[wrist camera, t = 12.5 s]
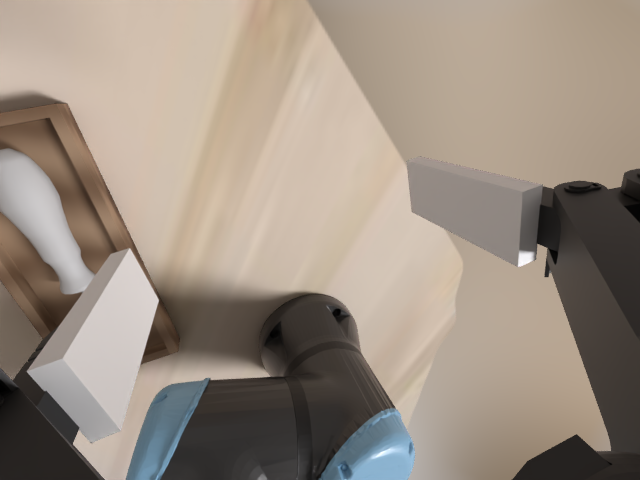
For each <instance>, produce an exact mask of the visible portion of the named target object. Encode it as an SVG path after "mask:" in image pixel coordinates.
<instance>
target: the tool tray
mask: <svg viewBox="0 0 640 480" xmlns="http://www.w3.org/2000/svg"><path fill="white" fill-rule="evenodd" d="M6 148H10V149H13V150H16V151H19V152H22V153H24V154H26V155H27V156H29V157H30V158H31V159H32V160H33V161H34V162H35V163H36V164H37V165H38V166H39V167H40V168H41V169H42V170H43V171H44V172H45V173H46V175H47V176H48V177H49V178H50V180H51V182H52V183H53V185H54V187H55V189H56V190H57V192H58V194H59V196H60V200H61V204H62V208H63V211H64V214H65V217H66V220H67V223H68V226H69V229H70V231H71V233H72V235H73V237H74V239H75V241H76V242H77V244H78V246H79V248H80V250H81V258H82V260H83V262H84V264H85V265H86V267H87V268H88V269H89V270H91V271H92V272H94V273H95V274H97V272H98V271H99V270H100V268H101V267H102V265H103V264H104V263H105V261H106V260H107V258H108V257H109V256H110V254H112V253H115V252H119V251H122V250H125V249H128V248H130V249H131V251H132V253H133V254H134V256H135V258H136V260H137V262H138V263H139V265H140V267H141V269H142V270H143V272H144V274H145V276H146V278H147V279H148V281H149V283H150V285H151V287H152V288H153V290H154V292H155V294H156V296H157V297H158V299H159V302H158V305H157V309H156V312H155V315H154V319H153V322H152V326H151V329H150V333H149V336H148V340H147V343H146V346H145V350H144V353H143V357H142V360H141V364H143V363H146V362H149V361H152V360H155V359H158V358H161V357H164V356H167V355H170V354H172V353H175V352H178V349H179V342H180V338H179V336H178V334H177V332H176V330H175V328H174V326H173V324H172V322H171V320H170V317H169V315H168V313H167V311H166V309H165V307H164V305H163V303H162V301H161V299H160V297H159V294H158V292H157V290H156V288H155V286H154V284H153V282H152V280H151V278H150V276H149V274H148V271H147V269H146V267H145V265H144V263H143V261H142V259H141V257H140V255H139V253H138V251H137V248H136V246H135V244H134V242H133V240H132V238H131V236H130V234H129V232H128V230H127V228H126V225H125V223H124V221H123V219H122V217H121V215H120V213H119V211H118V209H117V207H116V205H115V202H114V200H113V198H112V196H111V194H110V192H109V190H108V188H107V186H106V184H105V182H104V179H103V177H102V175H101V173H100V171H99V169H98V167H97V165H96V163H95V161H94V159H93V156H92V154H91V152H90V150H89V148H88V146H87V144H86V142H85V140H84V138H83V136H82V133H81V131H80V129H79V127H78V125H77V123H76V121H75V119H74V117H73V115H72V113H71V110H70V108H69V106H68V104H57V103H55V104H50V105H44V106H38V107H32V108H27V109H21V110H15V111H10V112H4V113H0V150H1V149H6ZM0 280H1V281H2V283H3V284H4V285H5V287H6V288H7V290H8V291H9V292H10V294H11V295H12V297H13V298H14V299H15V301H16V302H17V304H18V305H19V306H20V308H21V309H22V310H23V312H24V313H25V315H26V316H27V317H28V319H29V320H30V322H31V323H32V324H33V326H34V327H35V329H36V330H37V331H38V333H39V334H40V335H41V337H42V338H43V339H44V338H45V337H46V336H47V335H48V334H50V333H51V332H52V331H53V330H54V329H55V328H56V327H58V326H59V325H60V324H61V323H62V321H63V320H64V319H65V317H66V316H67V314H68V313H69V312H70V310H71V309H72V307H73V306H74V305H75V303H76V302H77V300H78V299H79V298H80V296H81V295H82V292H79V293H75V294H64V293H62V292H61V290H60V281H59V277H58V275H57V274H56V272H55V271H54V269H53V268H52V267H51V266H50V265H49V264H47V263H46V262H44V261H43V259H42V258H41V256H40V255H39V253H38V252H37V250H36V249H35V247H34V246H33V245H32V243H31V242H30V241H29V240H28V239H27V237H26V236H25V235H24V234H23V233H22V232H21V231H20V230H19V229H18V228H17V227H16V226H15V225H14V224H13V223H12V222H11V221H10V220H9V219H8V218H7V217H6V216H5V215H4V214H2V213H1V212H0Z"/></svg>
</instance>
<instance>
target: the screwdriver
mask: <svg viewBox="0 0 640 480" xmlns="http://www.w3.org/2000/svg"><path fill="white" fill-rule="evenodd" d="M0 212H1V213H2V214H4V215H5V216H6V217H7V218H8V219H9V220H10V221H11V222H12V223H13V224H14V225H15V226H16V227H17V228H18V229H19V230H20V231H21V232H22V233H23V234H24V235H25V236H26V237H27V239H28V240H29V241H30V242H31V243H32V245H33V246H34V247H35V249H36V250H37V252H38V253H39V255H40V256H41V258H42V259H43V261H44V262H46V263H47V264H49V265H50V266H51V267H52V268H53V269H54V271H55V272H56V274H57V275H58V277H59V281H60V290H61V292H62V293H64V294H75V293H79V292H82V293H83V292H84V291H85V289H86V288H87V286H88V285H89V284H90V282H91V281H92V279H93V278H94V277H95V275H96V274H95V273H94V272H92V271H91V270H89V269H88V268H87V267H86V265H85V264H84V262H83V260H82V258H81V250H80V248H79V246H78V244H77V242H76V241H75V239H74V237H73V235H72V233H71V231H70V229H69V226H68V223H67V220H66V217H65V214H64V211H63V208H62V204H61V200H60V196H59V194H58V192H57V190H56V189H55V187H54V185H53V183H52V182H51V180H50V178H49V177H48V176H47V175H46V173H45V172H44V171H43V170H42V169H41V168H40V167H39V166H38V165H37V164H36V163H35V162H34V161H33V160H32V159H31V158H30V157H29V156H27V155H26V154H24V153H22V152H19V151H16V150H13V149H10V148H6V149H1V150H0Z"/></svg>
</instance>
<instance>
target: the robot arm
mask: <svg viewBox="0 0 640 480" xmlns="http://www.w3.org/2000/svg"><path fill="white" fill-rule="evenodd" d="M407 170H408V180H409V190H410V199H411V209H412V212H413V213H415V214H417V215H419V216H421V217H423V218H425V219H427V220H428V221H430V222H432V223H434V224H436V225H438V226H440V227H442V228H444V229H446V230H448V231H450V232H451V233H453V234H455V235H457V236H459V237H461V238H463V239H465V240H467V241H469V242H471V243H472V244H474V245H476V246H478V247H480V248H482V249H484V250H486V251H488V252H490V253H492V254H494V255H495V256H497V257H500V258H501V259H503V260H505V261H507V262H509V263H511V264H513V265H515V266H517V267H520V266H522V265H525V264H527V263H529V262H532V261H534V260H536V254H537V244H540V245H542V246H544V247H547V248H548V249H547V258H546V267H545V277H548V276H549V273H552V275H553V278H554V281H555V284H556V287H557V290H558V293H559V295H560V298H561V301H562V304H563V307H564V310H565V313H566V316H567V318H568V321H569V324H570V327H571V330H572V332H573V335H574V338H575V341H576V344H577V347H578V350H579V352H580V355H581V358H582V361H583V364H584V367H585V369H586V372H587V375H588V378H589V381H590V384H591V387H592V390H593V392H594V395H595V398H596V401H597V404H598V406H599V409H600V412H601V415H602V418H603V421H604V424H605V426H606V429H607V432H608V436H609V439H610V444H611V451H597V452H596V451H594V450H593V449H592V448H591V447H590V446H589V445H588V444H587V443H586V442H585V441H583V440H582V439H581V438H580V437H579V436H578V435H574V436H573V437H571V438H569V439H567V440H566V441H563V442H562V443H560V444H558V445H556V446H554V447H552V448H551V449H549V450H547V451H545V452H543V453H542V454H540V455H538V456H536V457H534V458H532V459H531V460H529V461H527V462H526V464H525V465H524V466H523V467H522V469H521V470H520V471H519V472H518V473H517V475H516V476H515V477H514V478H513V479H512V480H640V169H635V170H630V171H628V172H626V173H624V177H623V181H622V186H621V187H619V188H614V189H607V188H606V187H605V186H603V185H601V184H599V183H593V182H586V181H574V182H568V183H563V184H559V185H557V186H556V187H554V189H552V188H547V187H543V185H541V184H537V183H533V182H529V181H525V180H520V179H516V178H511V177H507V176H503V175H498V174H494V173H490V172H486V171H481V170H477V169H473V168H468V167H464V166H460V165H455V164H451V163H447V162H442V161H438V160H433V159H429V158H425V157H421V156H420V157H417V158H413V159H411V160H407ZM158 302H159V299H158V297H157V296H156V294H155V292H154V290H153V288H152V287H151V285H150V283H149V281H148V279H147V278H146V276H145V274H144V272H143V270H142V269H141V267H140V265H139V263H138V262H137V260H136V258H135V256H134V254H133V253H132V251H131V249H130V248H128V249H125V250H122V251H119V252H115V253H112V254H110V256H109V257H108V258H107V260H106V261H105V263H104V264H103V265H102V267H101V268H100V270H99V271H98V272H97V274H96V275H95V277H94V278H93V279H92V281H91V282H90V284H89V285H88V286H87V288H86V289H85V291H84V292H83V293H82V295H81V296H80V298H79V299H78V300H77V302H76V303H75V305H74V306H73V307H72V309H71V310H70V312H69V313H68V314H67V316H66V317H65V319H64V320H63V321H62V323H61V324H60V325H59V326H58V327H56V328H55V329H54V330H53V331H52V332H51V333H50V334H48V335H47V336H46V337H45V338H44V339H43V340H42V342H41V343H40V344H39V346H38V347H37V349H36V352H34V353H33V354H32V355H31V357H30V358H29V359H28V362H26V363H25V365H24V366H23V367H22V369H21V370H20V371H19V373H18V374H17V375H16V377H15V378H14V379H13V381H12V380H11V379H10V378H9V377H8V376H7V375H6V374H5V373H4V372H3V370H2V369H1V368H0V480H105V479H104V478H103V477H102V476H101V475H100V474H99V473H98V472H97V471H96V469H95V468H94V467H93V466H92V465H91V464H90V463H89V462H88V461H87V459H86V458H85V457H84V456H83V455H82V454H81V453H80V452H79V451H78V450H77V448H76V447H75V446H74V445H73V442H74V439H75V437H76V435H77V432H78V430H80V431H81V432H82V434H83V435H84V436H85V437H86V438H87V439H88V440H89V441H90V442H91V443H92V442H95V441H97V440H100V439H102V438H105V437H107V436H109V435H112V434H114V433H117V432H119V431H121V429H122V425H123V422H124V419H125V415H126V412H127V408H128V405H129V401H130V398H131V394H132V391H133V388H134V384H135V381H136V377H137V374H138V370H139V367H140V364H141V360H142V357H143V353H144V350H145V346H146V343H147V340H148V336H149V333H150V329H151V326H152V322H153V319H154V315H155V312H156V309H157V305H158ZM259 349H260V354H261V359H262V363H263V365H264V367H265V369H266V371H267V372H268V373H269V375H270V376H271V377H262V378H244V379H224V380H210V378H206V379H204V380H203V381H194V382H185V383H176V384H171V385H168V386H166V387H165V388H163V389H162V390H161V391H160V392H159V393H158V394H157V395H156V396H155V398H154V399H153V401H152V403H151V405H150V407H149V409H148V412H147V414H146V417H145V419H144V422H143V425H142V428H141V431H140V434H139V437H138V440H137V443H136V446H135V449H134V452H133V456H132V459H131V463H130V466H129V469H128V473H127V477H126V480H408V478H409V476H410V473H411V471H412V468H413V465H414V458H415V450H414V445H413V441H412V439H411V437H410V435H409V433H408V431H407V429H406V427H405V425H404V424H403V422H402V419H401V415H400V413H399V412H398V410H396V408H395V406H394V405H393V403H392V402H391V400H390V398H389V397H388V395H387V394H386V392H385V390H384V389H383V387H382V386H381V384H380V382H379V381H378V379H377V378H376V376H375V375H374V373H373V371H372V370H371V368H370V367H369V365H368V363H367V362H366V360H365V359H364V357H363V355H362V354H361V349H360V343H359V336H358V330H357V325H356V323H355V320H354V318H353V316H352V315H351V313H350V312H349V310H348V309H347V308H346V306H345V305H344V304H343V303H341V302H340V301H339V300H337V299H335V298H332V297H330V296H326V295H306V296H302V297H298V298H296V299H293V300H291V301H289V302H287V303H285V304H284V305H282V306H281V307H279V308H278V309H277V310H276V311H275V312H274V313H273V314H272V315H271V316H270V317H269V318H268V320H267V321H266V323H265V324H264V326H263V328H262V331H261V334H260V338H259Z"/></svg>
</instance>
